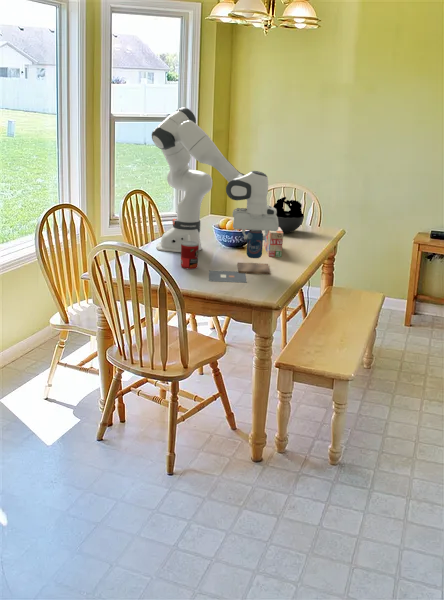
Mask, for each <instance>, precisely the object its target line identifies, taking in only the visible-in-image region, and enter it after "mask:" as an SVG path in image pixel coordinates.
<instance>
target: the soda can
mask: <svg viewBox="0 0 444 600" xmlns="http://www.w3.org/2000/svg"><path fill="white" fill-rule="evenodd" d="M247 235H248V237H247V240H246V255H247V257H248V258H250V259H260V258H261V257H262V255H263V246H264V240H263V236H264V233H263V230H248V233H247Z"/></svg>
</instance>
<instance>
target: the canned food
mask: <svg viewBox="0 0 444 600" xmlns="http://www.w3.org/2000/svg"><path fill="white" fill-rule="evenodd" d="M199 251H200V250H199V243H197V242H194V241H183V242H182V243H181V252H180V266H181V268H182V269H187V270H193V269H197V268H198V266H199Z"/></svg>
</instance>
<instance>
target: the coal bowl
mask: <svg viewBox="0 0 444 600" xmlns="http://www.w3.org/2000/svg"><path fill="white" fill-rule="evenodd" d="M284 204H285V205H286V206H288V208H289V210H285V208H284ZM272 207H274V208H275V209H276V210H277V213H276V215H277V217H278V227H280V228H281V230H282V231H283V234H284V233H285V234H287V233H293V232H294V231H296V230H297V229H299V228H300V227H301V226H302V223H303V222H304V219H305V215H304V213H303V212H302V207H303V205H302V203H301V202H299V200H296V199H295V200H294V199H290V200H288V199H287V197H286V196H283V197H282V198H279V199H277V200H276V203H274V204H273V206H272Z"/></svg>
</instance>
